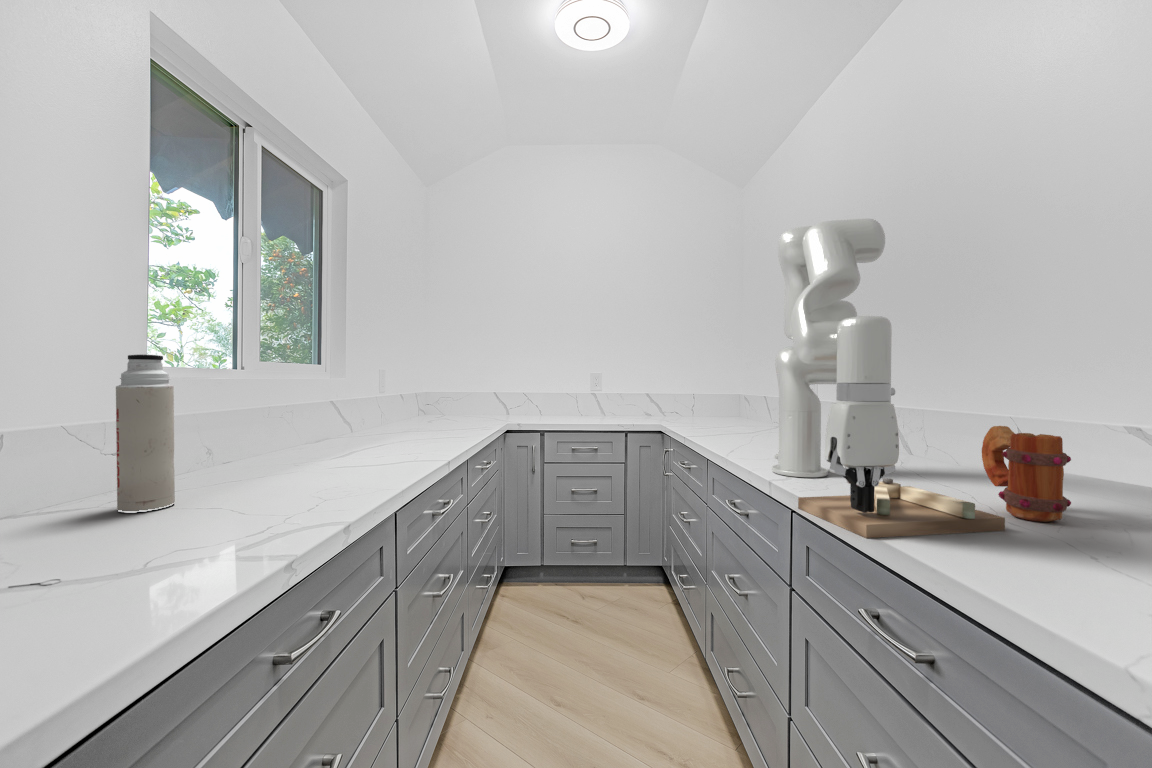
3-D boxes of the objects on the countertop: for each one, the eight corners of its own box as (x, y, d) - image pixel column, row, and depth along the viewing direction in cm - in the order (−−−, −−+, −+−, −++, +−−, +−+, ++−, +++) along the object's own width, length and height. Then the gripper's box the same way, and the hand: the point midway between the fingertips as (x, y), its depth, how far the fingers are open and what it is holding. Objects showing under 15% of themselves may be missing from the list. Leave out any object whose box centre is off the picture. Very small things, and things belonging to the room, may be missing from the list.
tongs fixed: (880, 494, 92) (880, 478, 92) (894, 494, 92) (895, 478, 92) (961, 519, 76) (961, 499, 76) (978, 518, 76) (978, 499, 76)
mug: (1086, 527, 79) (1087, 432, 79) (1034, 526, 80) (1035, 432, 79) (1008, 503, 94) (1009, 424, 94) (964, 503, 94) (965, 424, 94)
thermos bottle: (109, 515, 86) (107, 353, 85) (127, 505, 93) (125, 355, 93) (167, 510, 89) (165, 354, 89) (180, 500, 96) (178, 355, 96)
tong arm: (873, 492, 94) (873, 480, 94) (899, 494, 92) (899, 482, 92) (876, 514, 79) (877, 500, 79) (908, 517, 77) (908, 503, 77)
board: (798, 508, 91) (798, 497, 91) (914, 503, 94) (914, 492, 94) (866, 538, 74) (866, 524, 74) (1004, 530, 78) (1004, 517, 77)
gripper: (887, 393, 84) (886, 502, 84) (805, 394, 82) (804, 505, 82) (924, 395, 76) (923, 514, 77) (835, 396, 74) (834, 518, 74)
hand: (862, 509), depth 79 cm, fingers closed
